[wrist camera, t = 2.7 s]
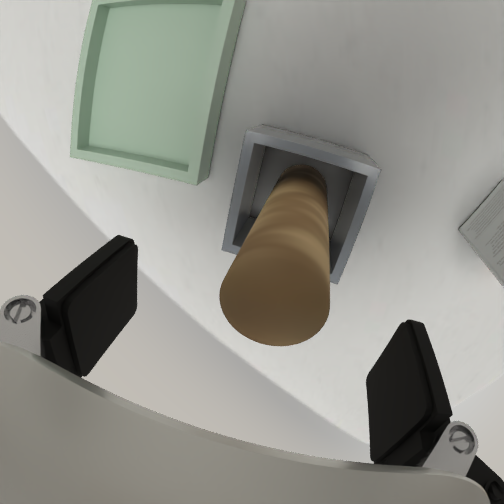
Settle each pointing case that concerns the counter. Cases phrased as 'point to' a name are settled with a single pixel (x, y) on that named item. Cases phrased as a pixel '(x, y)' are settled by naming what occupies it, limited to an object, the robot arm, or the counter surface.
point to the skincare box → (488, 232)
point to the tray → (153, 84)
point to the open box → (312, 148)
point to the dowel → (283, 265)
